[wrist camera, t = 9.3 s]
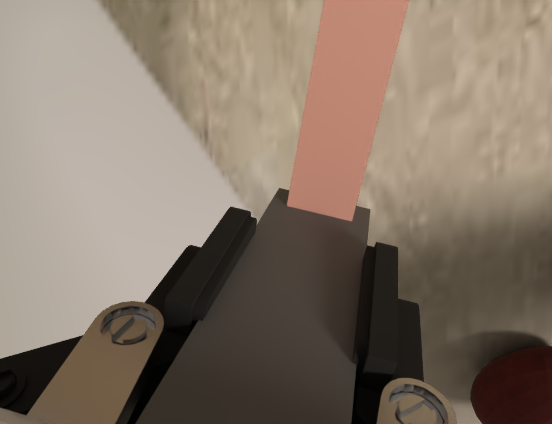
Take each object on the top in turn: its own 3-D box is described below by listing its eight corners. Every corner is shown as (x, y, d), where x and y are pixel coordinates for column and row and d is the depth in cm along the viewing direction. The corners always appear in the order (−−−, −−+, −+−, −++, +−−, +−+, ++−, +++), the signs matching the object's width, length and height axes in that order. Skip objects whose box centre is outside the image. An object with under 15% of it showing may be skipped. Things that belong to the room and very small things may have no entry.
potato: (448, 356, 38) (454, 416, 33) (551, 311, 34) (577, 371, 29) (500, 411, 40) (514, 476, 34) (606, 374, 35) (640, 442, 30)
